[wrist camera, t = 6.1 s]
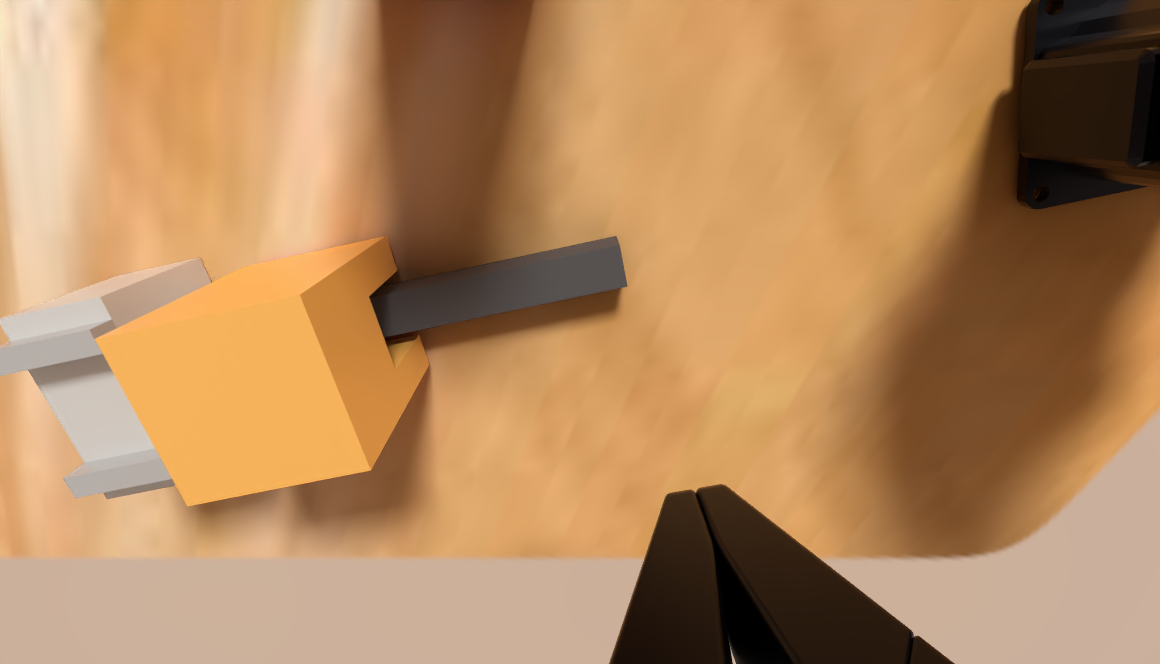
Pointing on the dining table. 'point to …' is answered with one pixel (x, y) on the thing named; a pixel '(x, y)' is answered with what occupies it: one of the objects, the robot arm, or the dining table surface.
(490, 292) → the bar
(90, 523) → the dining table surface
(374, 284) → the notched orange cube
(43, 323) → the grey i-beam piece
